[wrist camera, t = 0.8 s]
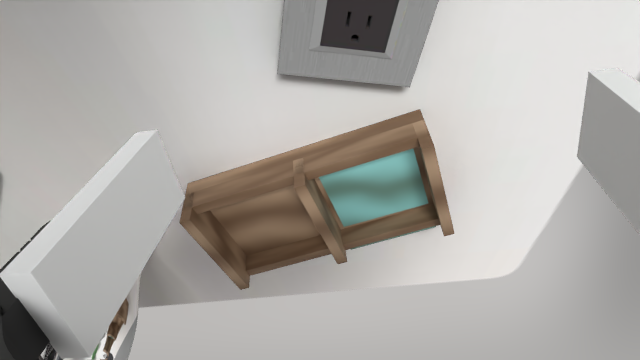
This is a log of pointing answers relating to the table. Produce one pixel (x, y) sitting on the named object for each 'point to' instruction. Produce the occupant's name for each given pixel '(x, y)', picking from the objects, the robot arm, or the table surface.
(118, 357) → the chrome pint tumbler
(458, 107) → the table surface
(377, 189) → the caddy
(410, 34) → the electrical outlet
